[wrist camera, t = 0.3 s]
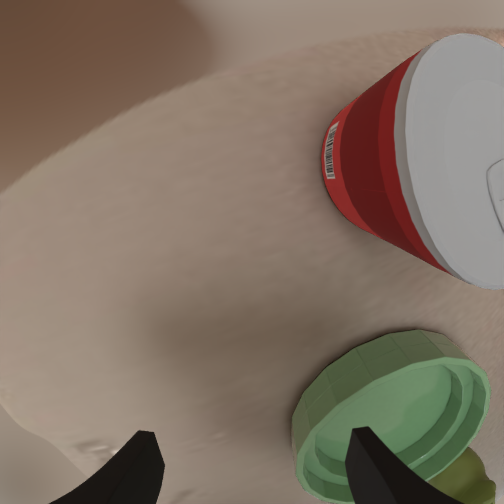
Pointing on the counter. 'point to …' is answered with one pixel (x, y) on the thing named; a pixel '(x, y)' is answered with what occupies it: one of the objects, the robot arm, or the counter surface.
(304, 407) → the bowl
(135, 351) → the counter surface
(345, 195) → the canned food
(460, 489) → the pear
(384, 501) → the robot arm
